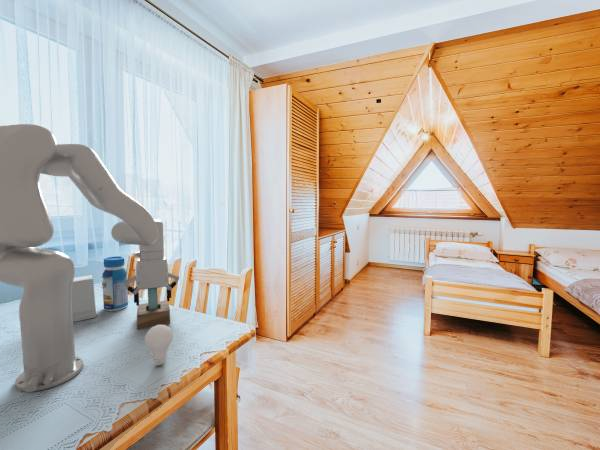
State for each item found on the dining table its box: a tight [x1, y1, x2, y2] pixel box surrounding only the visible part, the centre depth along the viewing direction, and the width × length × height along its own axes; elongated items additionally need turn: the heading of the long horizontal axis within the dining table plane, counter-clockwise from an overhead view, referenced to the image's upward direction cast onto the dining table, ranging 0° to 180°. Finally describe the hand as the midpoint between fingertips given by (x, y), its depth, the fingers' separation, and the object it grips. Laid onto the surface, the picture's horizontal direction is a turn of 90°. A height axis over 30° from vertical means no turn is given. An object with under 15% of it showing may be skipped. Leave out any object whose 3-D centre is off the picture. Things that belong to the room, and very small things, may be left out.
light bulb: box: [144, 324, 174, 367], centre depth 75 cm, size 7×7×11 cm
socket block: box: [136, 300, 171, 330], centre depth 101 cm, size 10×10×5 cm
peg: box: [147, 288, 159, 310], centre depth 101 cm, size 3×3×12 cm
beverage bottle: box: [101, 256, 129, 312], centre depth 111 cm, size 8×8×20 cm
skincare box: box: [72, 274, 97, 323], centre depth 101 cm, size 8×6×15 cm
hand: (153, 302), depth 101 cm, fingers open, 9 cm apart
